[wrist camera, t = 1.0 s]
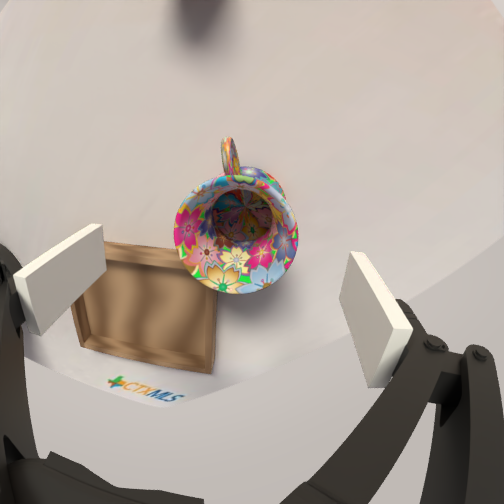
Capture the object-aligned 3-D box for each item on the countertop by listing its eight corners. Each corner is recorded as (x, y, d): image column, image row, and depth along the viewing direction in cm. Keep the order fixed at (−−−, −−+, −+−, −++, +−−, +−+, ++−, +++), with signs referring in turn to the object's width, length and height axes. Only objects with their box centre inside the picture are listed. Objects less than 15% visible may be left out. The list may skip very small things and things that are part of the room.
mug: (292, 243, 34) (301, 290, 24) (209, 250, 34) (185, 297, 25) (283, 131, 29) (289, 130, 19) (193, 142, 30) (157, 147, 20)
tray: (89, 334, 41) (80, 346, 38) (73, 237, 35) (59, 246, 32) (214, 358, 40) (211, 374, 38) (219, 254, 35) (214, 265, 32)
